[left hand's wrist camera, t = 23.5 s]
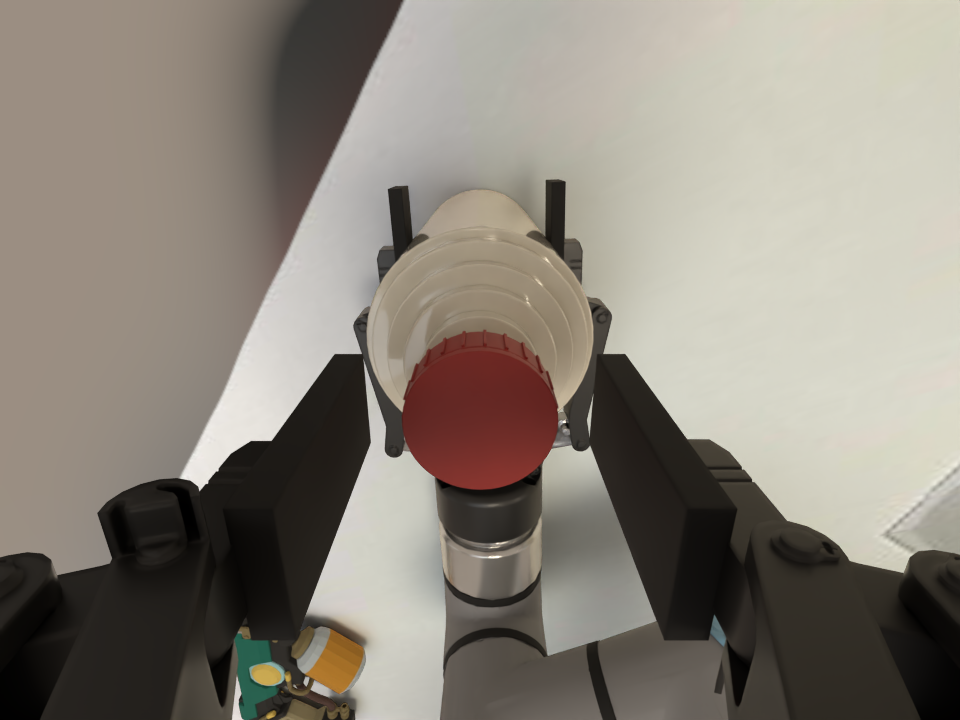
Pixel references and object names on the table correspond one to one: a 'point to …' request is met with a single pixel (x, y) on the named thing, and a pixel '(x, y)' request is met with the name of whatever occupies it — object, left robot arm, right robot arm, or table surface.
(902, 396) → the table surface
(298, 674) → the spray gun
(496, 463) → the cap
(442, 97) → the table surface
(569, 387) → the bottle
